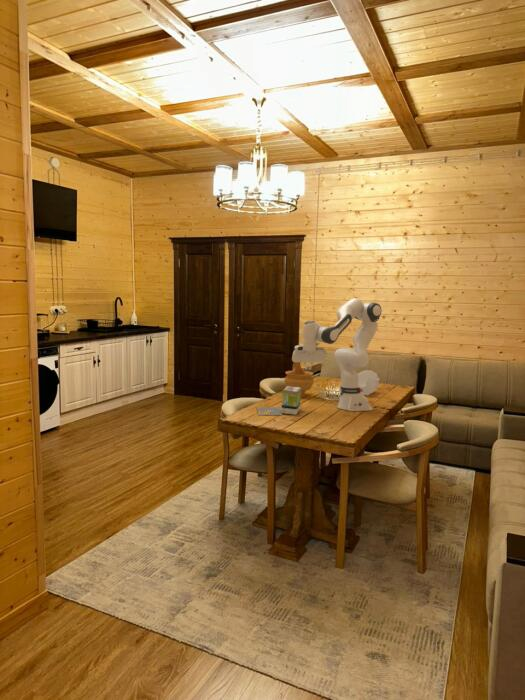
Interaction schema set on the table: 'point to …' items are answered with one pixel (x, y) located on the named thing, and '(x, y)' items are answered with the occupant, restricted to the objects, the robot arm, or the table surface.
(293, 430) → the table surface
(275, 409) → the mat
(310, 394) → the table surface
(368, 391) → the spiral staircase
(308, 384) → the terracotta urn
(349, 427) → the table surface
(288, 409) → the tea box
